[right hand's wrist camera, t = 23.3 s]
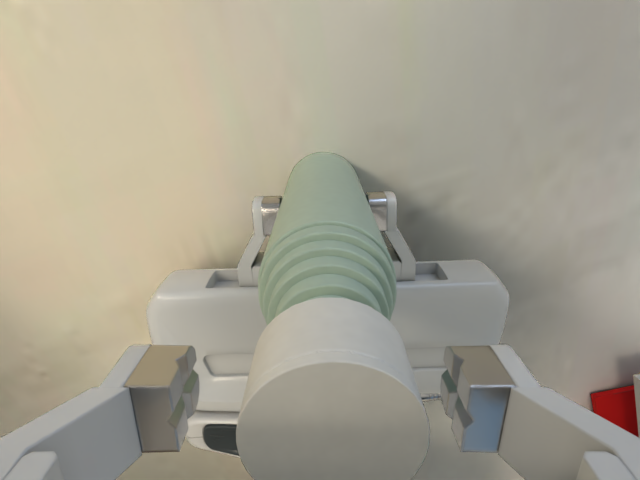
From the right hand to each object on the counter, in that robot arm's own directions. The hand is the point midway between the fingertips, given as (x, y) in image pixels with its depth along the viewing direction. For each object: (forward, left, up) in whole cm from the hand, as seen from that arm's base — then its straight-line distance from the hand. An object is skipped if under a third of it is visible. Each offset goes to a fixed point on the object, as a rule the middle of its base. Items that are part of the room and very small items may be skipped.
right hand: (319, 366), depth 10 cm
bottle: (0, 0, -19) cm, 19 cm away
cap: (0, 0, +2) cm, 2 cm away
